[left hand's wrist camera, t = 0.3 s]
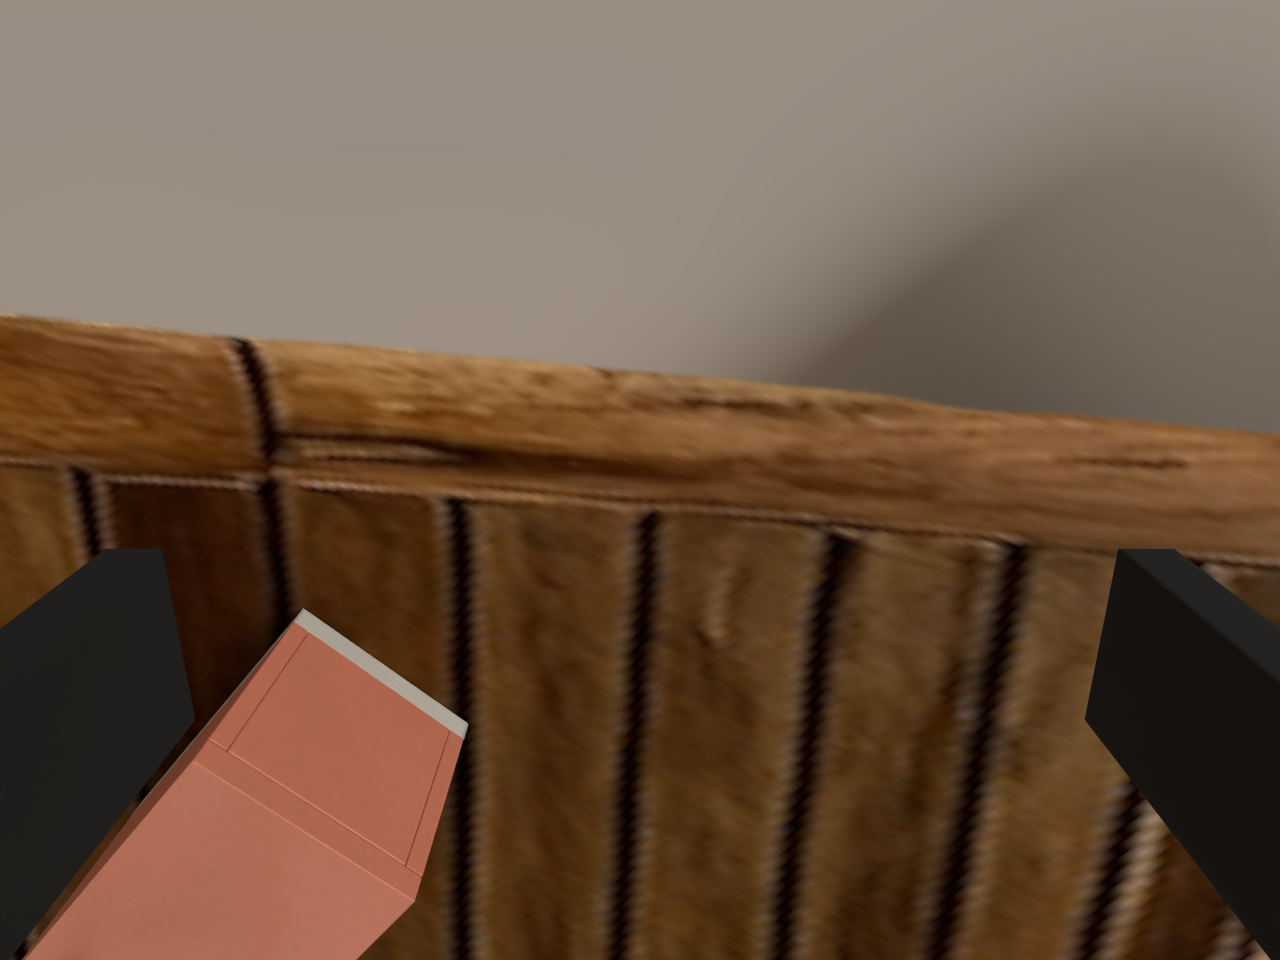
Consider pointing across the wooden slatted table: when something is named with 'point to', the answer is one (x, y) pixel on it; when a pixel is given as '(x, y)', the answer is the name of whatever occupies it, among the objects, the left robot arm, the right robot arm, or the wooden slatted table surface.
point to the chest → (334, 742)
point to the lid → (232, 879)
